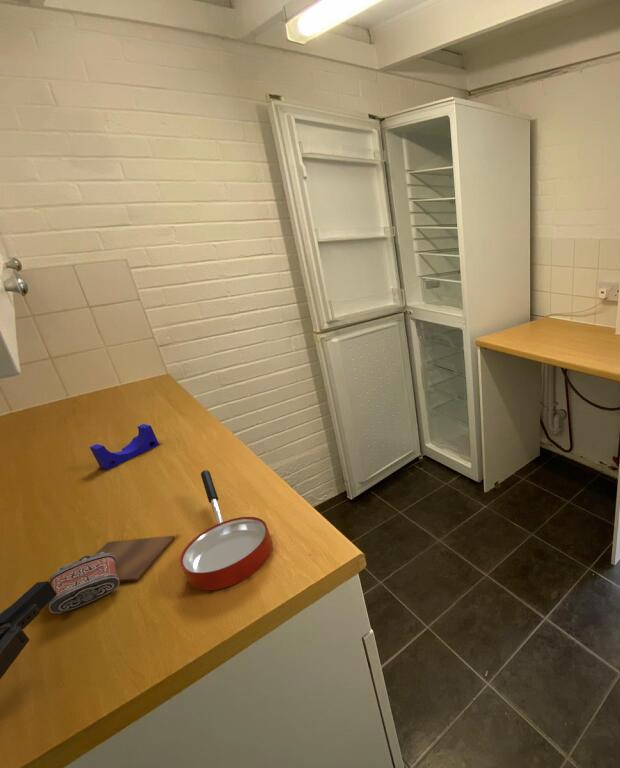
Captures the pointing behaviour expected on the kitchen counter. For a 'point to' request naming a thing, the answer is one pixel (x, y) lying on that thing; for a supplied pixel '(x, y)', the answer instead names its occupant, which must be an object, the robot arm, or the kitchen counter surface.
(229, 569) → the frying pan
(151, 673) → the kitchen counter surface
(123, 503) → the kitchen counter surface
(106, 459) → the blue notched block
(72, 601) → the lighter
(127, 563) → the plate
